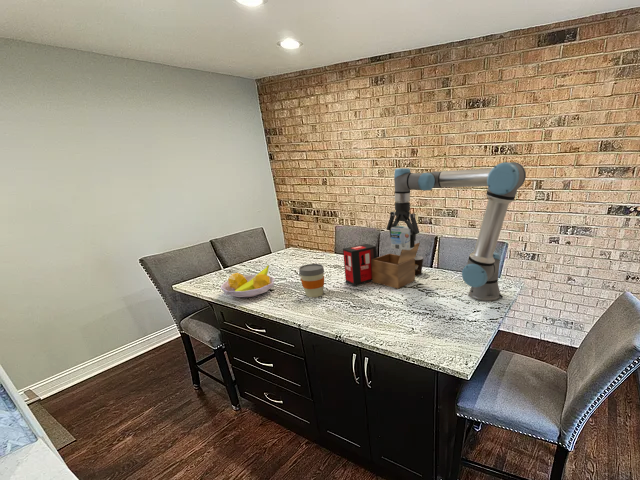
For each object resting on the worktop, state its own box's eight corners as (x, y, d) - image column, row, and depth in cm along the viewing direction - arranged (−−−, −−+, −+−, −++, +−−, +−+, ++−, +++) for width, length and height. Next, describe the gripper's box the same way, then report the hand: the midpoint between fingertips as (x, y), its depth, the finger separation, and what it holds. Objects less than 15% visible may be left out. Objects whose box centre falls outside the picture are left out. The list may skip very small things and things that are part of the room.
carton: (414, 280, 196) (415, 258, 191) (398, 288, 185) (397, 265, 179) (389, 274, 207) (389, 253, 202) (372, 282, 195) (371, 259, 190)
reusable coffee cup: (318, 288, 187) (315, 262, 182) (331, 293, 179) (328, 267, 173) (298, 294, 179) (294, 267, 174) (310, 300, 171) (306, 272, 165)
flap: (414, 257, 191) (415, 257, 191) (397, 263, 179) (398, 264, 179) (419, 242, 185) (420, 242, 185) (402, 248, 174) (402, 248, 174)
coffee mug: (425, 272, 209) (425, 257, 206) (418, 276, 203) (418, 260, 199) (409, 269, 215) (409, 254, 211) (402, 273, 209) (402, 258, 205)
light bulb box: (390, 248, 173) (390, 227, 169) (395, 245, 179) (395, 225, 174) (410, 250, 169) (410, 229, 165) (414, 247, 175) (414, 226, 171)
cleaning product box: (368, 275, 206) (366, 243, 198) (377, 279, 199) (376, 246, 192) (345, 282, 196) (342, 248, 188) (354, 286, 190) (351, 251, 182)
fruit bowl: (237, 306, 165) (232, 285, 161) (215, 293, 182) (210, 273, 178) (288, 290, 184) (285, 271, 180) (264, 280, 201) (261, 262, 197)
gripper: (427, 202, 161) (426, 247, 170) (388, 199, 174) (389, 241, 183) (418, 204, 155) (417, 250, 164) (378, 201, 169) (380, 243, 177)
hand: (402, 245), depth 173 cm, fingers closed on light bulb box, 11 cm apart
